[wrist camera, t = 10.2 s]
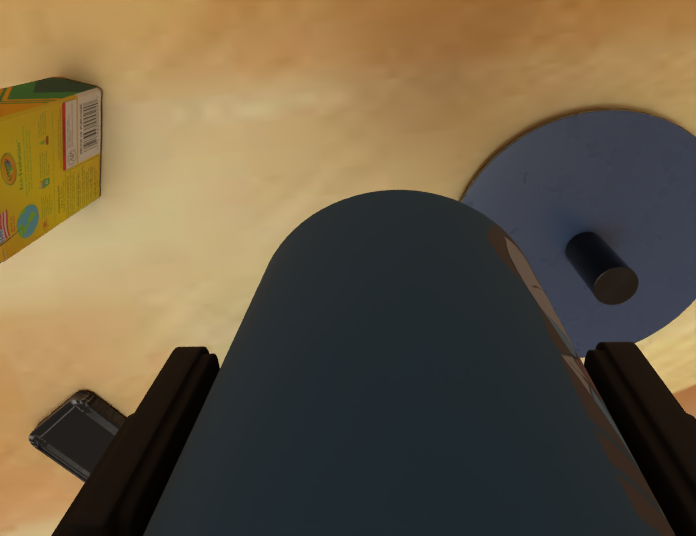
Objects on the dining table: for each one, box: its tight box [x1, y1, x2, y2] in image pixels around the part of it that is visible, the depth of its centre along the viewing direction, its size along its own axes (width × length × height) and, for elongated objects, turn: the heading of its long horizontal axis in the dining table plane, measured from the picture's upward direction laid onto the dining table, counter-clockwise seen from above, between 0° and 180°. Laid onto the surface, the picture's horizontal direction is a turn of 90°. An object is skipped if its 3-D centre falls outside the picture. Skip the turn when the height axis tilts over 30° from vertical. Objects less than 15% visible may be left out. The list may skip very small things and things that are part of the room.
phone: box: [29, 391, 126, 482], centre depth 45 cm, size 8×1×15 cm
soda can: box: [143, 190, 675, 536], centre depth 9 cm, size 7×7×12 cm
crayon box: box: [0, 77, 102, 263], centre depth 27 cm, size 7×3×12 cm, turn 166°
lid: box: [460, 109, 696, 358], centre depth 31 cm, size 17×17×6 cm
